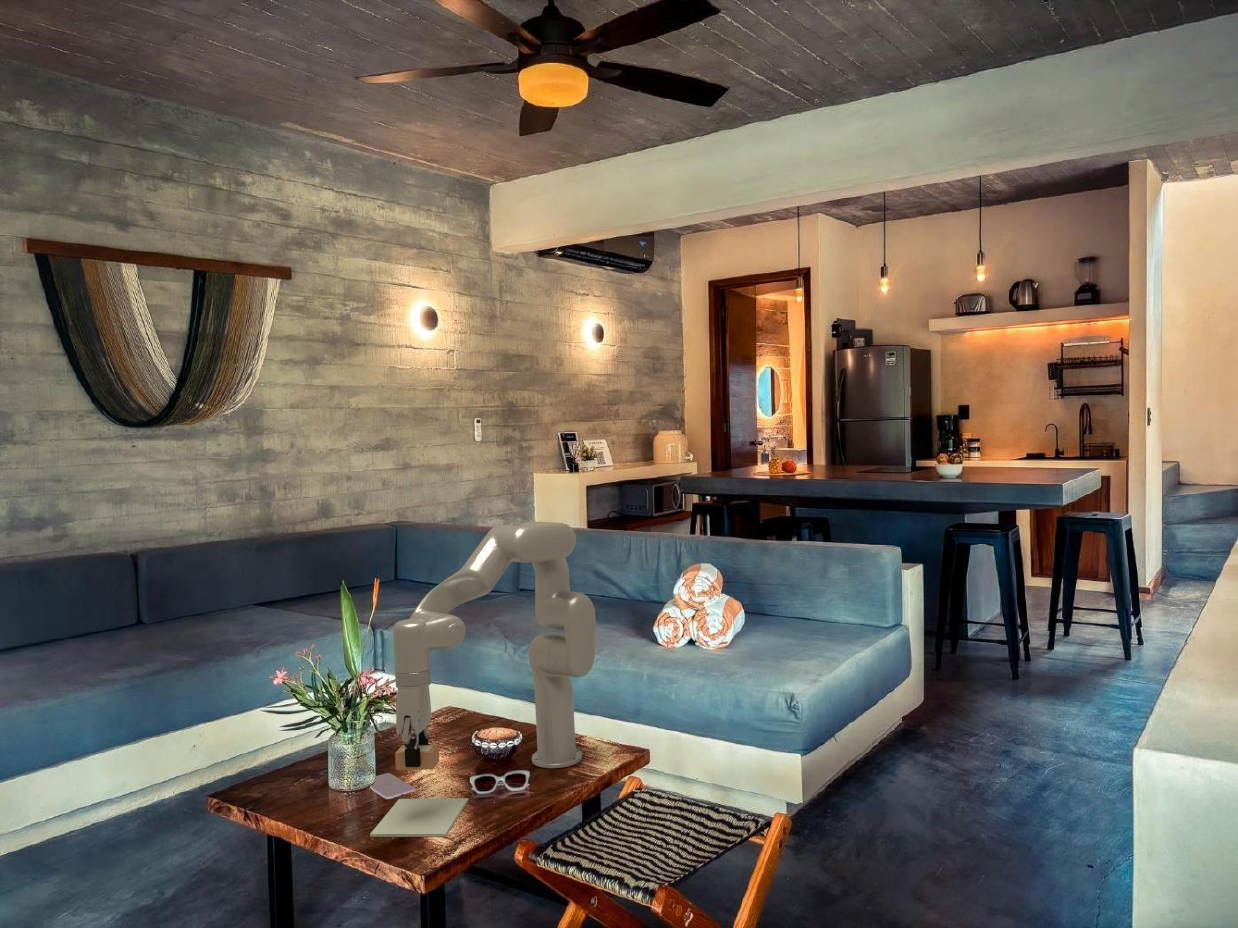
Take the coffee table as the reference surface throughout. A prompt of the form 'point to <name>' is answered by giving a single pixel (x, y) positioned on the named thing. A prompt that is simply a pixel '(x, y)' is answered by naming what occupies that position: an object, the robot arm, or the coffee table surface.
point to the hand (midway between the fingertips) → (417, 760)
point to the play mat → (420, 818)
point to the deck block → (427, 755)
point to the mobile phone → (390, 786)
